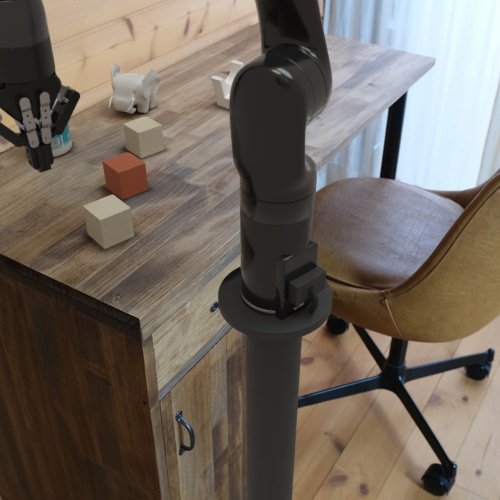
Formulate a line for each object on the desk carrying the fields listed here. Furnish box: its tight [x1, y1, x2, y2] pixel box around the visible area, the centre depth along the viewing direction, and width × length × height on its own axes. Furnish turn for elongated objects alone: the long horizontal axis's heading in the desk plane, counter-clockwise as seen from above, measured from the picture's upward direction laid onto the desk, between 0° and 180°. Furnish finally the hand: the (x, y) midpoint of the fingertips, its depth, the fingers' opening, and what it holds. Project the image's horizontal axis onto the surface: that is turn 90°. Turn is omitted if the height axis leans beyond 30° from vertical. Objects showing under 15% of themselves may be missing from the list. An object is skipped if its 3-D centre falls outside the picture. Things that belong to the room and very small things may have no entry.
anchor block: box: [102, 151, 149, 201], centre depth 105 cm, size 5×5×5 cm
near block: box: [82, 193, 135, 250], centre depth 94 cm, size 5×5×5 cm
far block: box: [122, 115, 165, 159], centre depth 116 cm, size 5×5×5 cm
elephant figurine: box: [108, 63, 162, 115], centre depth 129 cm, size 10×12×9 cm
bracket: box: [210, 59, 245, 110], centre depth 130 cm, size 13×7×8 cm, turn 49°
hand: (43, 168), depth 83 cm, fingers closed
